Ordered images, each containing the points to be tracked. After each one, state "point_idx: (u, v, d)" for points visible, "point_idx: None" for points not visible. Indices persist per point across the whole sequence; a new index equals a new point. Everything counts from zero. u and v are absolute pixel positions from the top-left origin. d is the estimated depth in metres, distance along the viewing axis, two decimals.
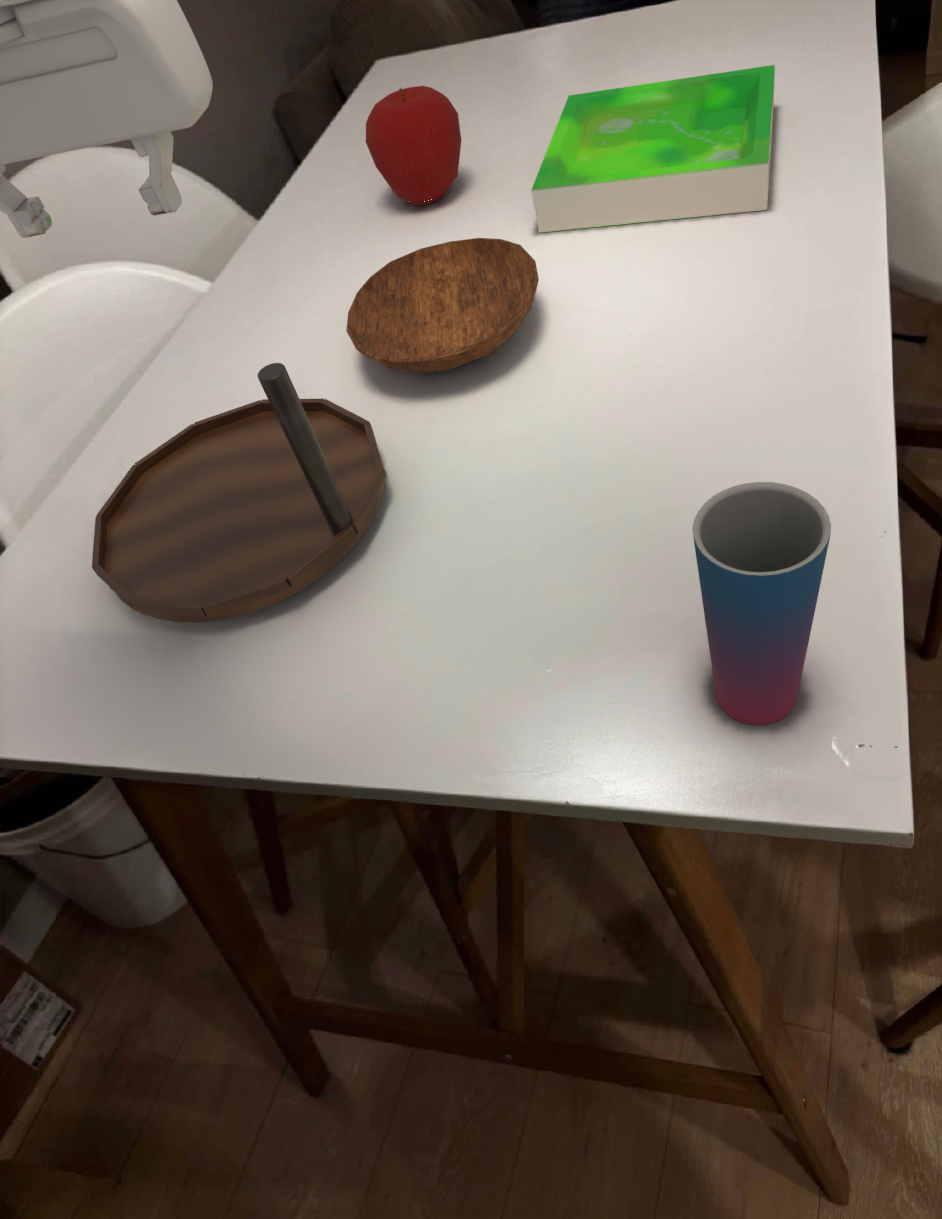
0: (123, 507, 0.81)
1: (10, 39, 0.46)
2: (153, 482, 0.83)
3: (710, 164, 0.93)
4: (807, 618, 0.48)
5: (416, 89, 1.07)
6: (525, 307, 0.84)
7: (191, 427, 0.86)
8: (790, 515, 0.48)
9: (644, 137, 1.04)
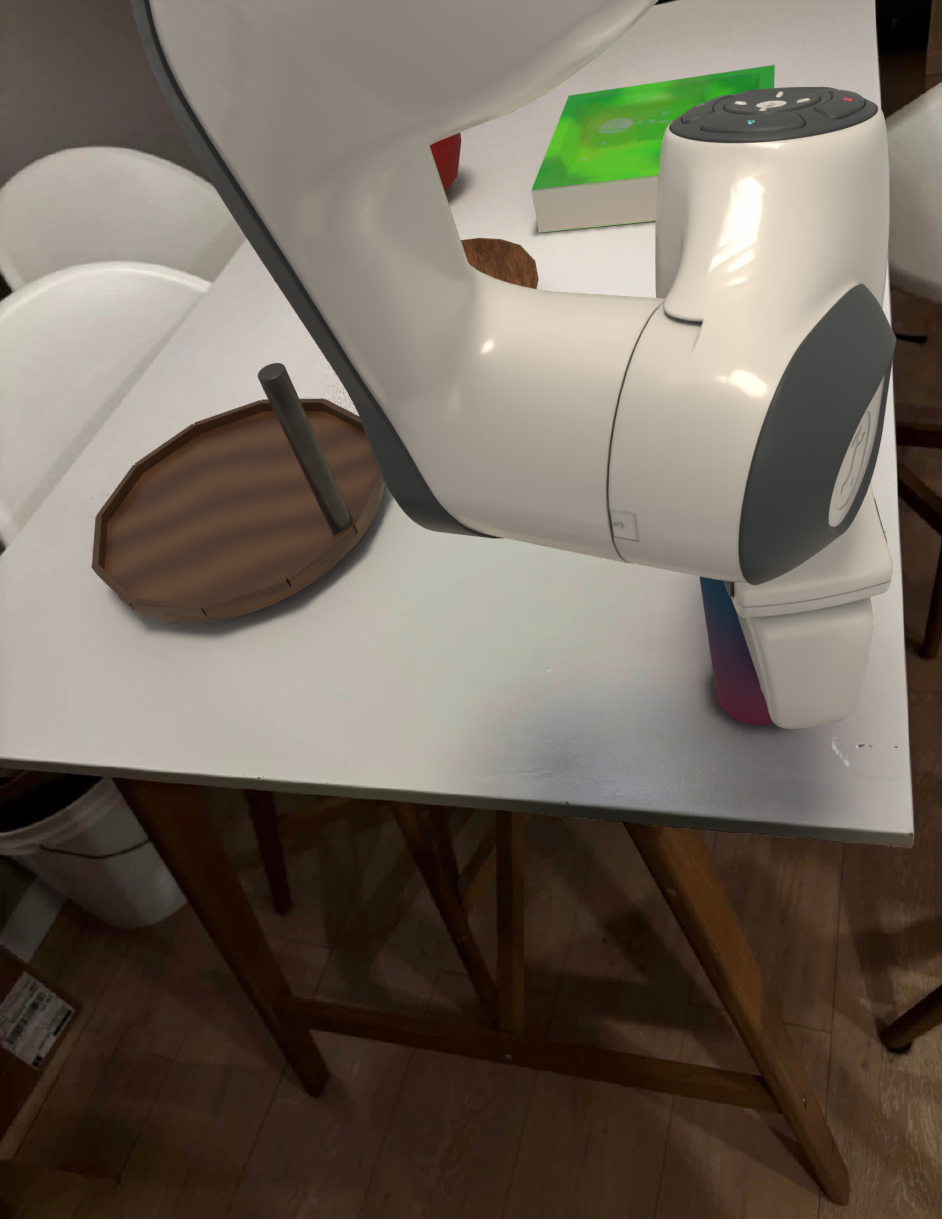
0: (123, 507, 0.81)
1: None
2: (153, 482, 0.83)
3: None
4: None
5: None
6: None
7: (191, 427, 0.86)
8: None
9: (644, 137, 1.04)
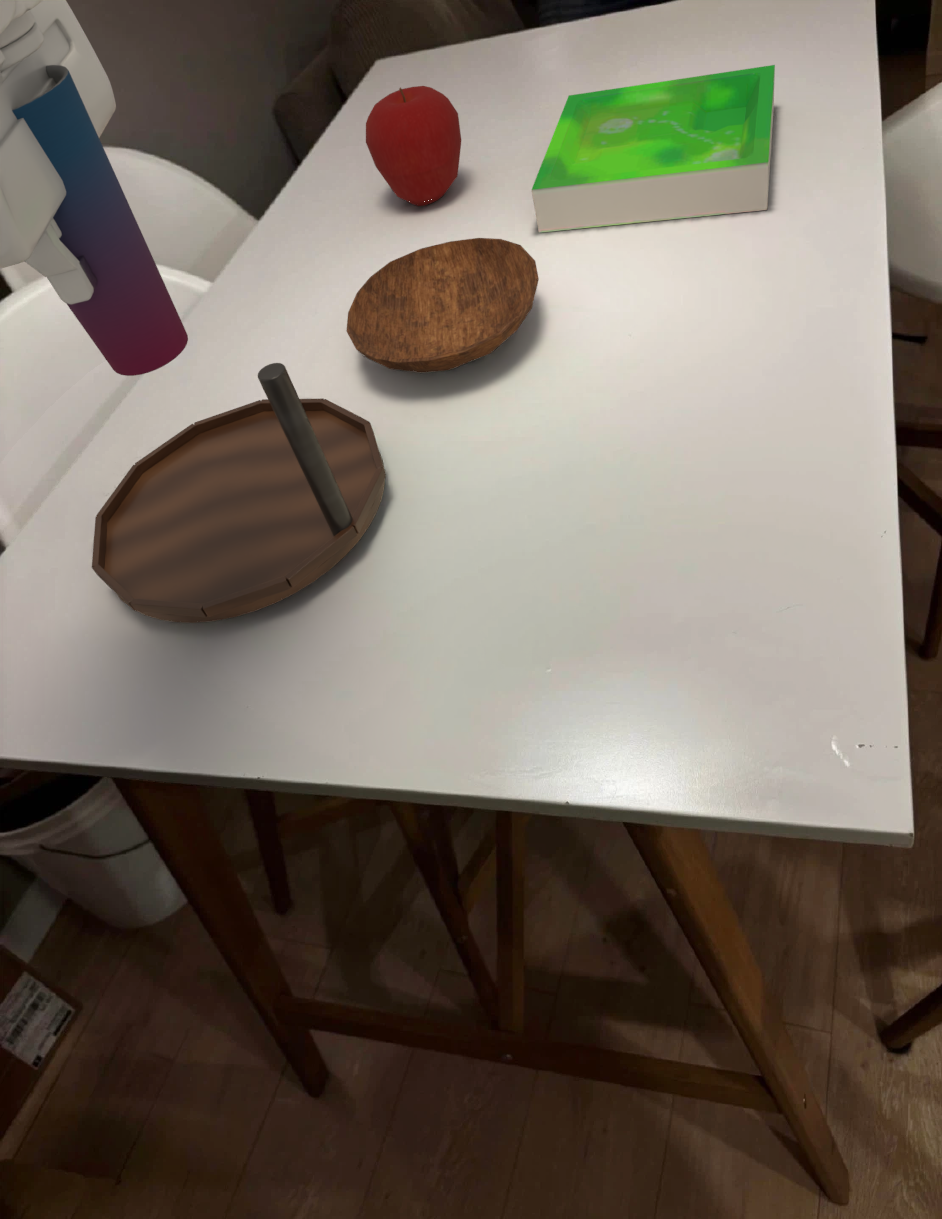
0: (123, 507, 0.81)
1: None
2: (153, 482, 0.83)
3: (710, 164, 0.93)
4: (85, 209, 0.46)
5: (416, 89, 1.07)
6: (525, 307, 0.84)
7: (191, 427, 0.86)
8: None
9: (644, 137, 1.04)
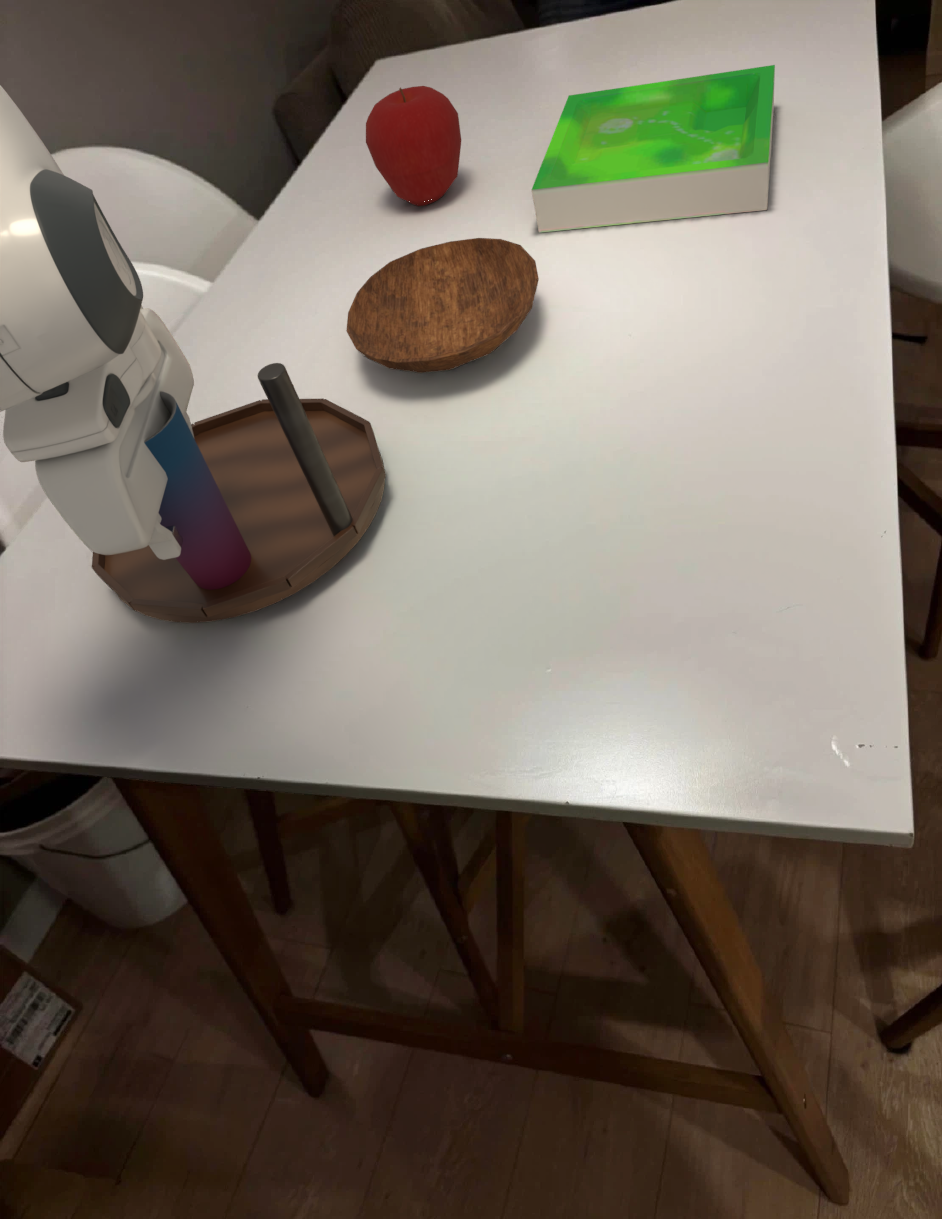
0: None
1: None
2: None
3: (710, 164, 0.93)
4: (186, 493, 0.64)
5: (416, 89, 1.07)
6: (525, 307, 0.84)
7: None
8: None
9: (644, 137, 1.04)
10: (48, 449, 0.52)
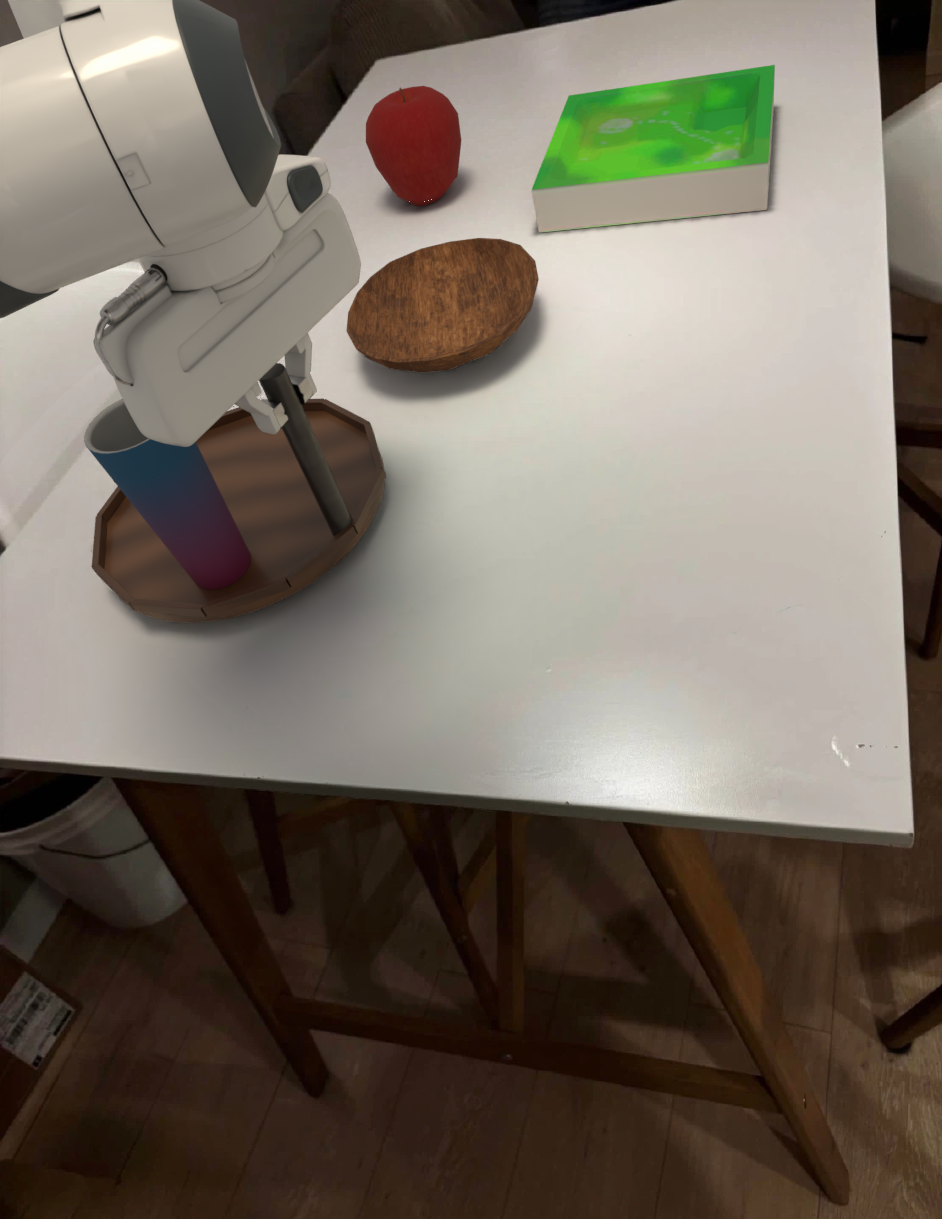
0: (123, 507, 0.81)
1: (274, 261, 0.56)
2: None
3: (710, 164, 0.93)
4: (185, 493, 0.64)
5: (416, 89, 1.07)
6: (525, 307, 0.84)
7: None
8: None
9: (644, 137, 1.04)
10: None
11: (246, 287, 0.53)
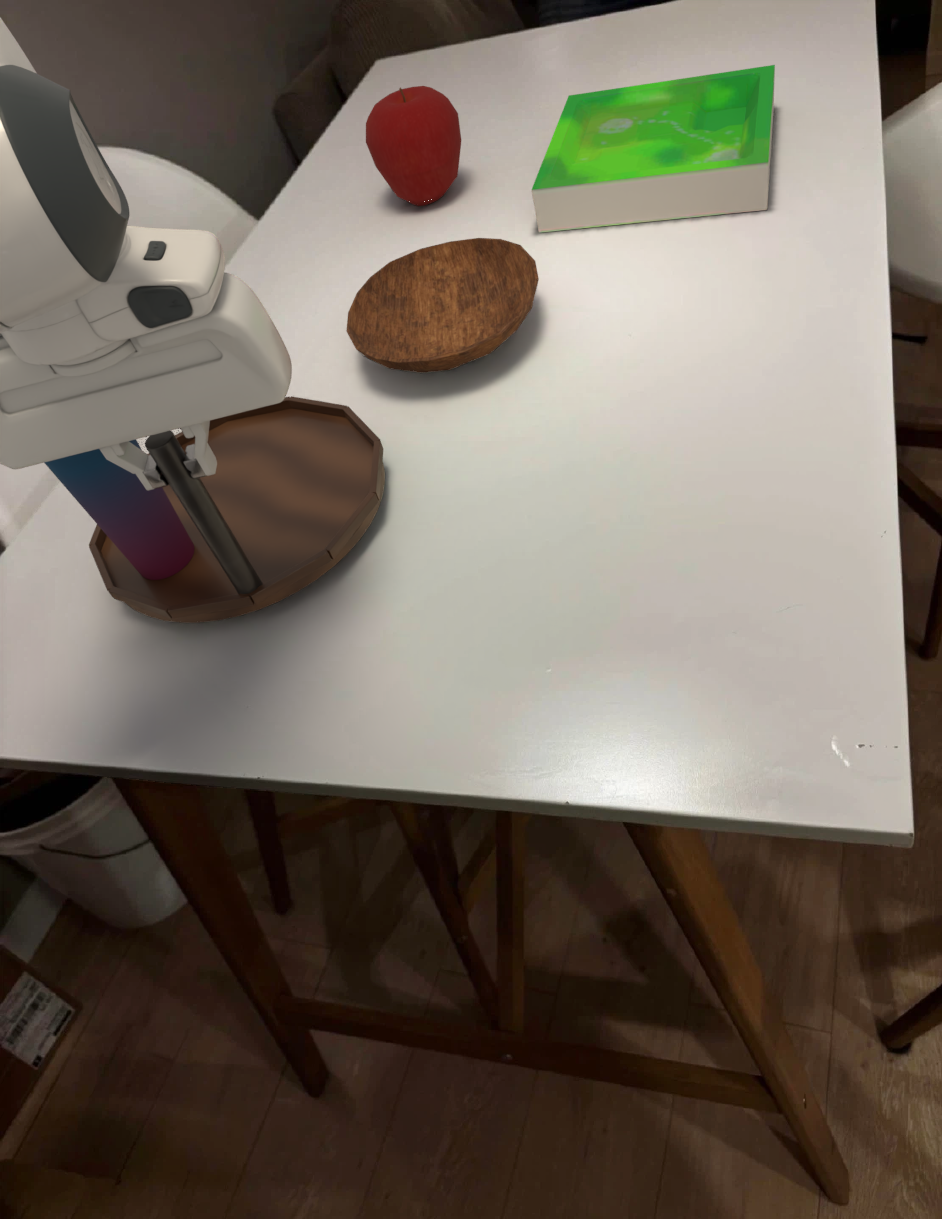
0: (186, 446, 0.85)
1: (126, 357, 0.52)
2: (222, 436, 0.85)
3: (710, 164, 0.93)
4: (95, 498, 0.66)
5: (416, 89, 1.07)
6: (525, 307, 0.84)
7: (284, 400, 0.85)
8: None
9: (644, 137, 1.04)
10: (218, 274, 0.50)
11: (68, 373, 0.51)
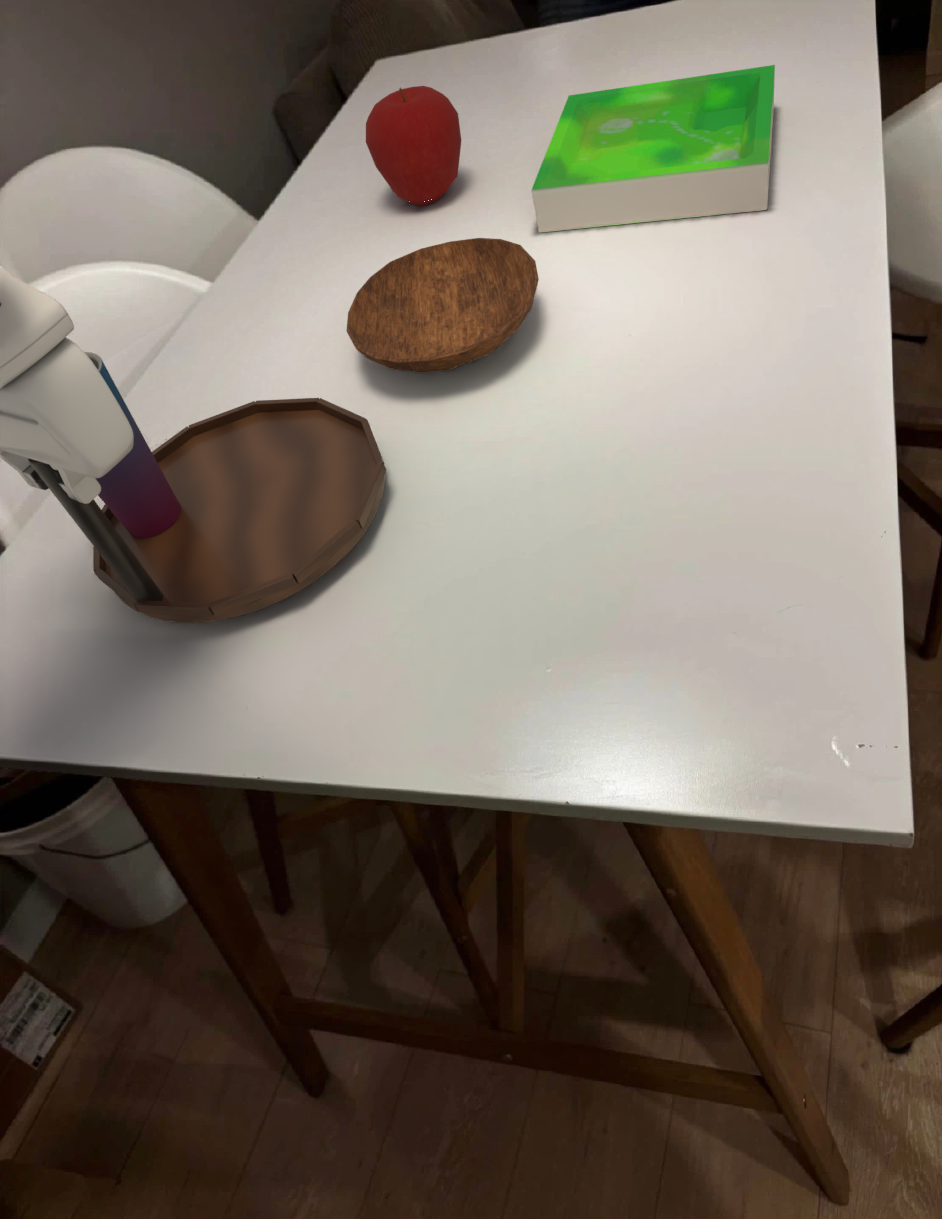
0: (275, 415, 0.86)
1: None
2: (301, 423, 0.84)
3: (710, 164, 0.93)
4: None
5: (416, 89, 1.07)
6: (525, 307, 0.84)
7: (359, 420, 0.80)
8: None
9: (644, 137, 1.04)
10: (26, 353, 0.49)
11: None
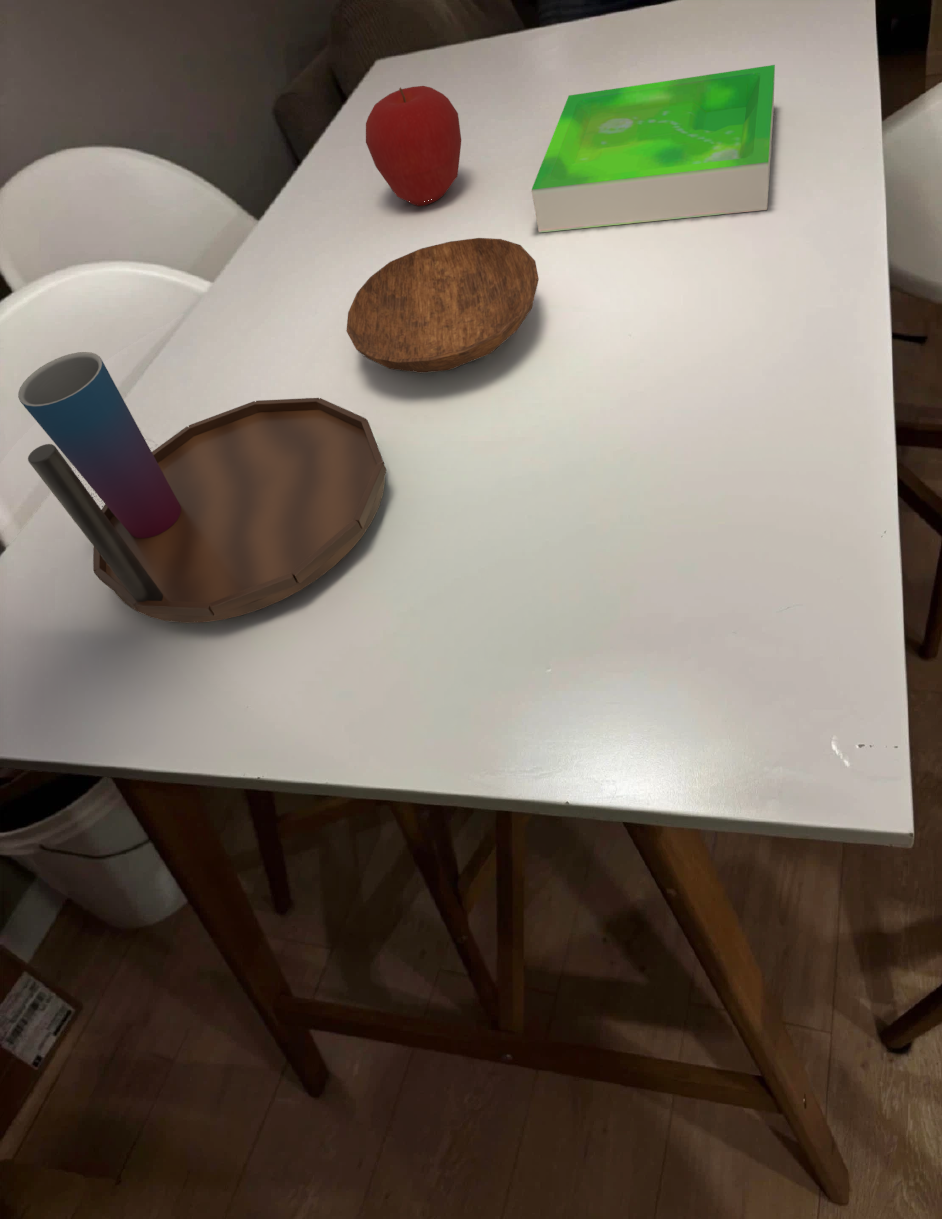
0: (275, 415, 0.86)
1: None
2: (301, 423, 0.84)
3: (710, 164, 0.93)
4: (64, 454, 0.71)
5: (416, 89, 1.07)
6: (525, 307, 0.84)
7: (359, 420, 0.80)
8: None
9: (644, 137, 1.04)
10: None
11: None
